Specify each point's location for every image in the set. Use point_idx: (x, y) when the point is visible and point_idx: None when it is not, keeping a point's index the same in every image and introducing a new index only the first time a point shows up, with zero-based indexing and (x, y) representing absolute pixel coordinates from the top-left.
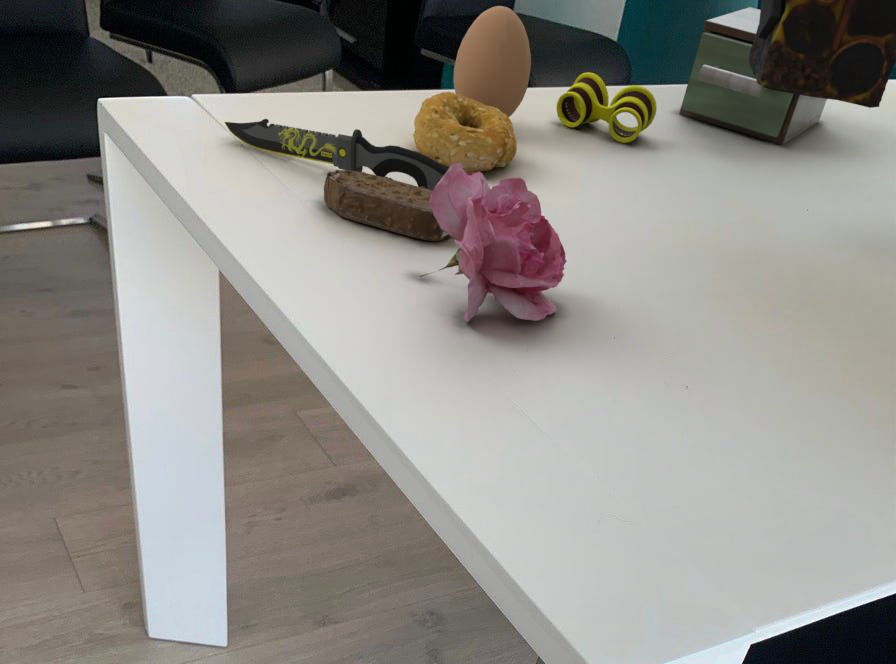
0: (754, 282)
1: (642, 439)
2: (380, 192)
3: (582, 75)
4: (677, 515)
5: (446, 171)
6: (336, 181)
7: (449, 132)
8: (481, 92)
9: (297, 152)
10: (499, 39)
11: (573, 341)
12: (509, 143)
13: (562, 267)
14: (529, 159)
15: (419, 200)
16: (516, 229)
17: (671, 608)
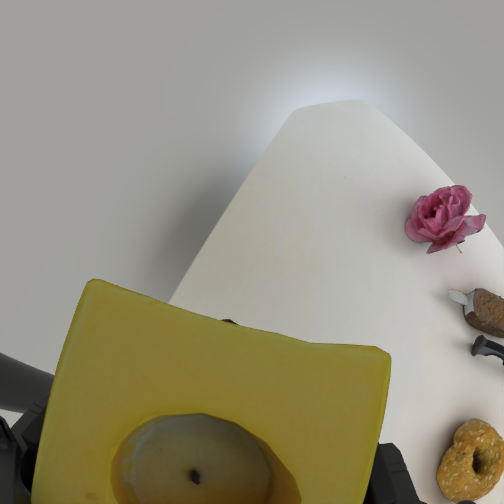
0: (278, 299)
1: (361, 150)
2: (501, 303)
3: None
4: (350, 125)
5: (488, 340)
6: None
7: (491, 427)
8: None
9: None
10: None
11: (393, 206)
12: (454, 452)
13: (415, 226)
14: (418, 495)
15: (487, 300)
16: (444, 192)
17: (351, 106)
